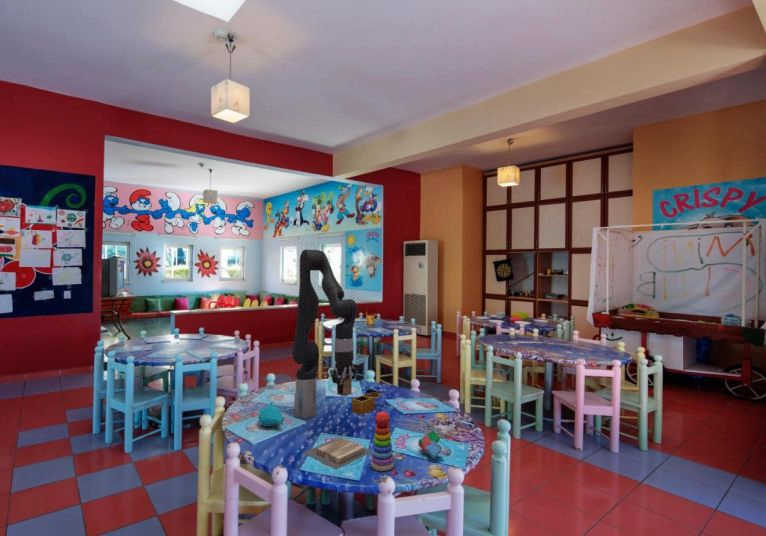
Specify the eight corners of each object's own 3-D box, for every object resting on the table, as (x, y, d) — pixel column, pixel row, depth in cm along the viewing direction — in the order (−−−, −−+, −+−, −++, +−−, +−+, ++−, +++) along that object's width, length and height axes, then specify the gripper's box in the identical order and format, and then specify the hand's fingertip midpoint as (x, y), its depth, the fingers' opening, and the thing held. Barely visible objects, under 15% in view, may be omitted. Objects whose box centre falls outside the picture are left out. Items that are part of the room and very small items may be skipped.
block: (337, 394, 164) (337, 379, 164) (344, 392, 167) (344, 377, 167) (344, 396, 162) (344, 381, 162) (351, 393, 165) (351, 378, 165)
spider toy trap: (383, 406, 199) (383, 387, 199) (361, 415, 188) (362, 394, 188) (373, 403, 203) (373, 385, 203) (351, 411, 192) (351, 391, 192)
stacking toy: (370, 461, 144) (370, 407, 143) (392, 460, 144) (393, 407, 144) (371, 472, 136) (372, 416, 136) (395, 471, 136) (396, 415, 136)
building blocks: (432, 463, 152) (434, 457, 142) (417, 446, 156) (417, 439, 146) (447, 448, 155) (449, 440, 145) (431, 431, 159) (432, 423, 149)
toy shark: (269, 418, 183) (269, 394, 182) (294, 429, 171) (294, 403, 171) (249, 424, 175) (249, 399, 175) (274, 436, 163) (274, 409, 163)
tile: (316, 447, 147) (339, 458, 140) (341, 437, 156) (363, 447, 149) (316, 453, 147) (339, 464, 140) (341, 443, 156) (363, 452, 149)
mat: (302, 454, 148) (302, 452, 148) (339, 438, 161) (339, 437, 161) (336, 471, 136) (336, 469, 136) (373, 453, 150) (373, 451, 150)
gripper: (350, 345, 172) (350, 386, 172) (324, 350, 161) (324, 394, 161) (363, 347, 167) (363, 389, 167) (337, 353, 157) (337, 398, 157)
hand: (344, 391), depth 164 cm, fingers closed on block, 4 cm apart
